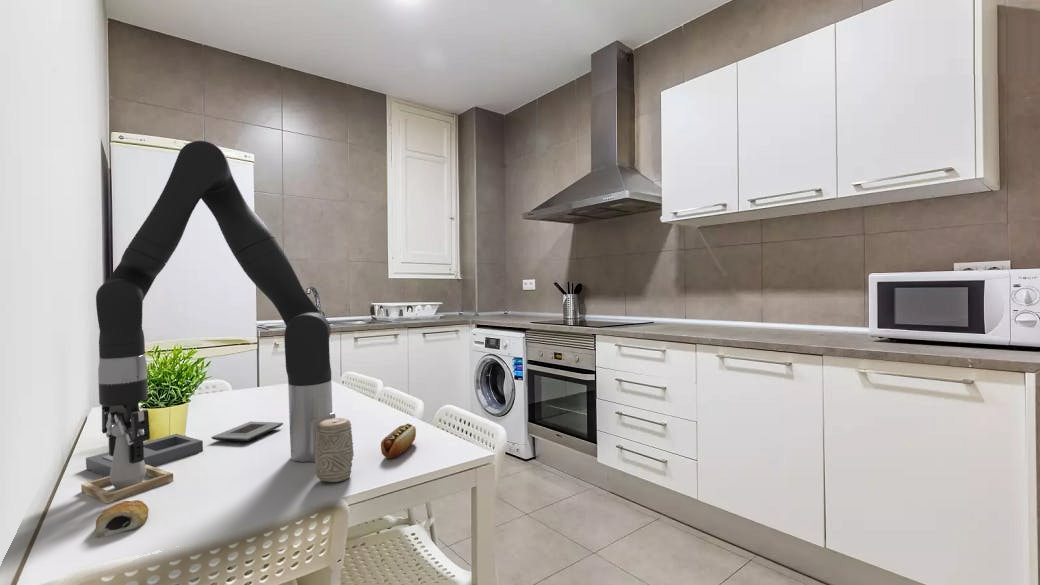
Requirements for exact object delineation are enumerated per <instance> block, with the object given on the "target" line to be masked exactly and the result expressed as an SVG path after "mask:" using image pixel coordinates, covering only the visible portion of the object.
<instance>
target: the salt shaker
mask: <svg viewBox="0 0 1040 585" xmlns="http://www.w3.org/2000/svg"><path fill="white" fill-rule="evenodd" d="M129 429H130V428H129ZM112 435H113V436H115V437H116V443H115V450H114V455H113V460H112V465H111V470H110V476H109V481H110V482H111V484H110V485H112V486H113V487H114V488H115V491H117V490H120V489H123V488H126V487H129V486H132V485H135V484H138V483H141V482H144V478H145V477H146V466H145V463H144V459H143V461H141V462H137V463H134V464H132V463H130V462H129V450H128V445H129V444H128V441H127V438H126V436H123V435H122V434H121V431H120V428H119V425H118V424H115V425H114V426H113V427H112ZM131 435H132V434H131Z"/></svg>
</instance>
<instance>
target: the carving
mask: <svg viewBox="0 0 1040 585" xmlns="http://www.w3.org/2000/svg"><path fill="white" fill-rule="evenodd" d="M352 432H353V431H352V423H351V420H349V419H348V418H344V417H335V418H332V419H327V420H323V421H321V422H320V423H319V425H318V427H317V432H316V440H315V444H316V450H315V462H314V467H315V470H314V471H315V475H316V478H317V479H318V480H319V481H321V482H326V483H339V482H344V481H345V480H346V481H347V479H349V478H350V477H351V474H352V467H353V462H352V461H353V460H354V453H355V452H354V442H353V434H352Z"/></svg>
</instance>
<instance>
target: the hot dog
mask: <svg viewBox="0 0 1040 585" xmlns="http://www.w3.org/2000/svg"><path fill="white" fill-rule="evenodd" d="M416 435H417V429H416V426H414V425H412V424H411V423H406V424H402V425H400V426H398V427H397V428H395V429H394V430H393V431H392V432H390V433H388V434H387V436H385V437H384V438H383V439H382V440H381V442H380V450H381V454H382V456H384V458H389V459H394V458H397V457H398V456H400V455H401V454H403V453H404V452H405V451H406V450H407V449H409V448H410V446H412V445H413V443H414V441H415V439H416Z"/></svg>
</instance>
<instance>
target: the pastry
mask: <svg viewBox="0 0 1040 585" xmlns="http://www.w3.org/2000/svg"><path fill="white" fill-rule="evenodd" d="M148 518H149V508H148V505H147V504H146V503H144V501H142V500H140V499H136V500H123V501H120V502H118V503H116V504H114V505H112V506H110V507H107V508H105V509H104V510H103V511H102V513H101V514H100V515H99V516H98V517H97V518H96V520H95V528H94V530H93V534H94V535H95V536H97V538H104V537H110V536H114V535H117V534H121V533H126V532H129V531H133V530H136V529H137V528H138V529H139V528H140V527H141V526H143V525H144V524H146V523H147V520H148Z"/></svg>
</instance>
